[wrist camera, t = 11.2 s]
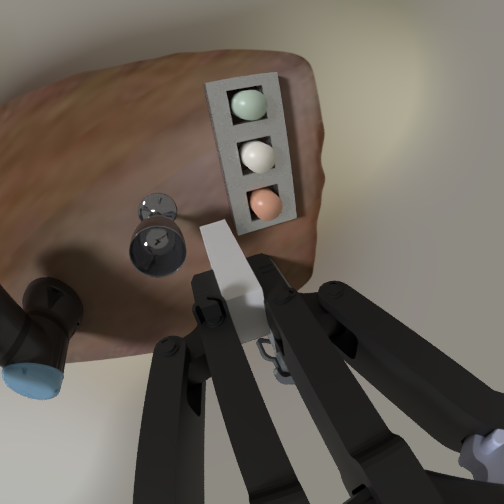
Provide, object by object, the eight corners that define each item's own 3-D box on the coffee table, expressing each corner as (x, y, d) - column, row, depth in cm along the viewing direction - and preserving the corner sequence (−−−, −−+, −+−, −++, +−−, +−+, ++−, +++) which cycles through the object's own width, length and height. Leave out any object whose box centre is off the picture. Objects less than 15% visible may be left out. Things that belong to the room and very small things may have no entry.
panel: (234, 228, 56) (238, 235, 53) (202, 84, 40) (205, 83, 38) (290, 212, 58) (296, 218, 55) (270, 73, 42) (277, 71, 40)
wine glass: (178, 189, 48) (186, 224, 36) (179, 230, 52) (187, 275, 40) (134, 192, 46) (125, 228, 34) (138, 233, 50) (133, 279, 38)
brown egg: (249, 213, 54) (257, 224, 50) (245, 189, 52) (253, 198, 48) (274, 206, 55) (284, 216, 51) (270, 182, 52) (280, 191, 48)
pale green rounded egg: (231, 121, 44) (239, 123, 40) (226, 93, 42) (233, 92, 38) (259, 115, 45) (269, 117, 41) (254, 88, 43) (264, 87, 38)
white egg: (241, 169, 49) (249, 176, 45) (236, 142, 47) (243, 147, 43) (267, 162, 50) (277, 169, 46) (263, 136, 47) (273, 140, 43)
